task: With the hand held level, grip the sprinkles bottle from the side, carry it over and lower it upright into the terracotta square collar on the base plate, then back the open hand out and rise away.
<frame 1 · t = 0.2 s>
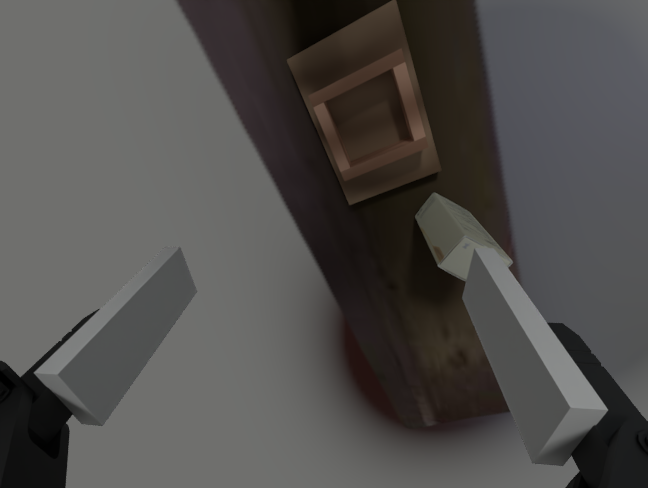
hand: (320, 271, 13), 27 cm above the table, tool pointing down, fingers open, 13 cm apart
skincare box: (442, 214, 40), on the table
collar plate: (368, 117, 35), on the table
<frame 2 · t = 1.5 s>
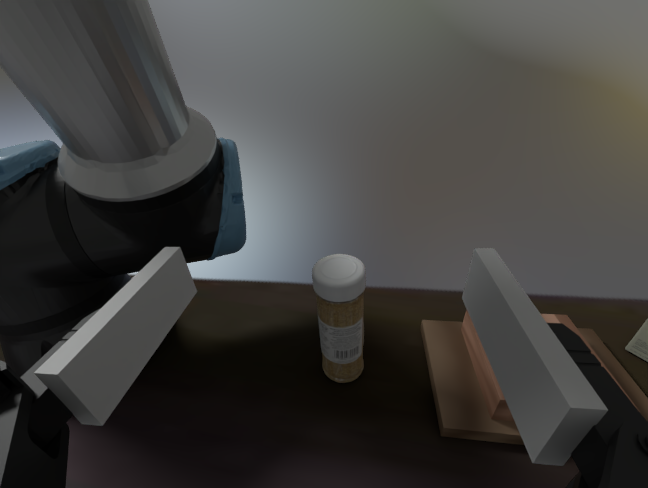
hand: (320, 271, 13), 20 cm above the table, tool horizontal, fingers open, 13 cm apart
sprinkles bottle: (342, 366, 32), on the table
collar plate: (522, 380, 29), on the table
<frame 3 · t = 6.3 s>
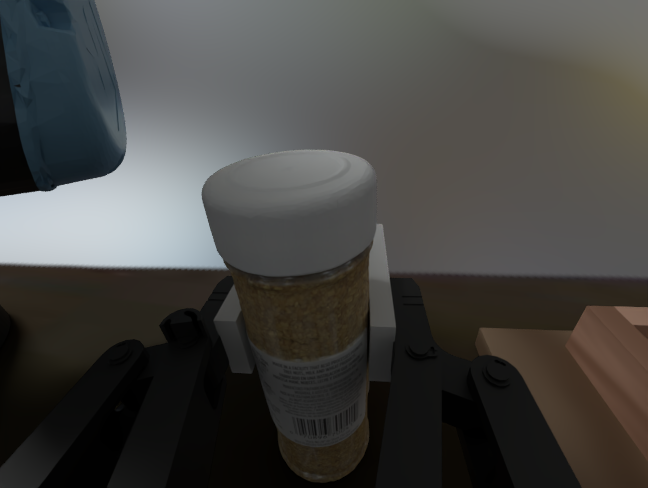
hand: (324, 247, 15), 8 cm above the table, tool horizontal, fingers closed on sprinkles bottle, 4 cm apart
sprinkles bottle: (323, 434, 15), on the table, touching gripper
when the fingers open (10 cm above the table, at t = 12.1 s): sprinkles bottle stays where it is, resting on collar plate.
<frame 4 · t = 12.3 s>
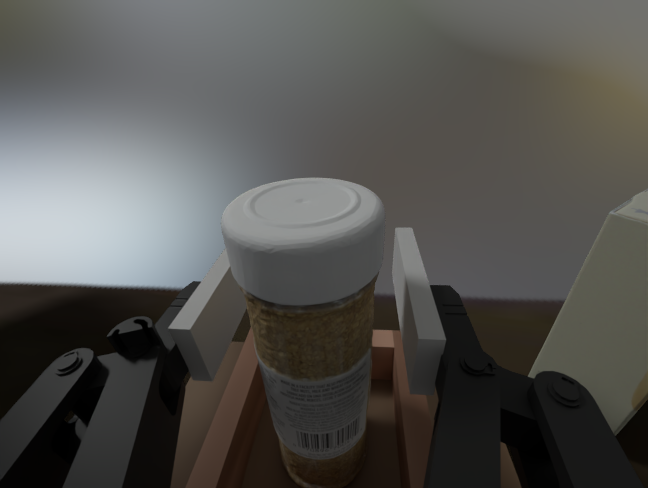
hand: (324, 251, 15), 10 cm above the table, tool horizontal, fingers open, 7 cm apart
sprinkles bottle: (322, 444, 15), point 1 cm above the table, touching collar plate
skincare box: (582, 389, 18), on the table
collar plate: (326, 455, 16), on the table
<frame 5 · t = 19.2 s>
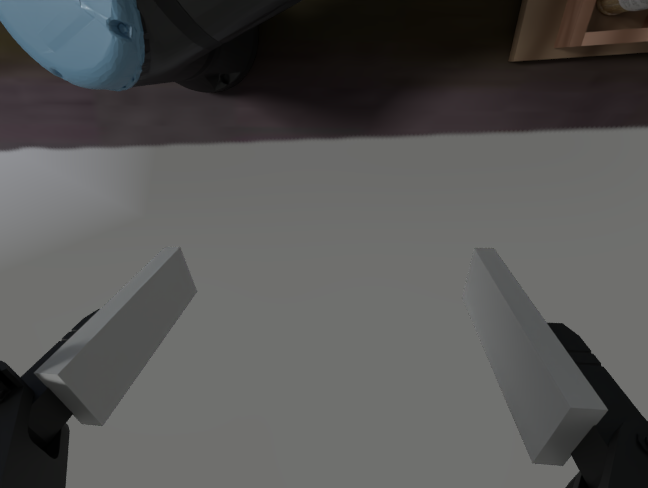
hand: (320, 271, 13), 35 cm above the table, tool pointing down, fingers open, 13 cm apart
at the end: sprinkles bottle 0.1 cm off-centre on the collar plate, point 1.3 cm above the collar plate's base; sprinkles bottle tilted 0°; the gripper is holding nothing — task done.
